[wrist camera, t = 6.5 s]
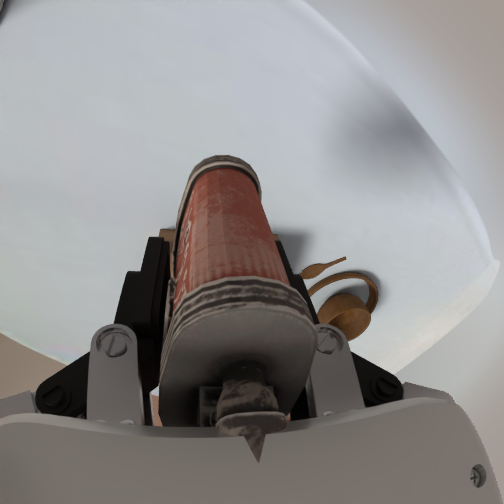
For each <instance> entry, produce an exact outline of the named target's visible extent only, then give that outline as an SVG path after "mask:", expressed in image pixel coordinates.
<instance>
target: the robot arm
mask: <svg viewBox="0 0 504 504" xmlns="http://www.w3.org/2000/svg"><path fill="white" fill-rule="evenodd" d="M3 3H4V0H0V11H1V9H2V6H3ZM274 241H275V243H276V246H277V249H278V252H279V255H280V258H281V261H282V264H283V267H284V269H285V272H286V275H287V278H288V281H289V284H290V287H292V288H294V289H296V290H297V291H298V292H299V293H300V295H301V296H302V297H303V298H304V300H305V301H306V302H307V305H308V308H309V311H310V313H311V316H312V319H313V322H314V324H315V327H316V330H317V338H318V345H317V348H316V352H315V355H314V359H313V362H312V366H311V369H310V372H309V375H308V379H307V382H306V384H305V386H304V388H303V390H302V392H301V394H300V395H299V397H298V399H297V401H296V403H295V404H294V406H293V408H292V410H291V411H290V413H289V414H288V415H287V416H286V418H287V423H288V424H287V428H285V429H283V430H282V431H280V432H275V433H271V434H266V436H265V440H264V445H263V449H262V453H261V458H260V462H259V464H258V462H257V460H256V458H255V456H254V455H253V453H252V451H251V449H250V447H249V445H248V443H247V441H246V439H245V438H244V436H234V435H228V434H226V433H224V432H222V431H220V429H219V428H218V427H160V426H155V424H154V415H153V407H152V396H151V391H152V390H153V389H155V388H156V387H157V386H159V383H160V366H161V354H162V342H163V330H164V319H165V309H166V300H167V291H168V282H169V280H170V279H171V269H170V243H169V241H164V237H149V239H148V243H147V246H146V250H145V254H144V258H143V263H142V267H141V271H128V272H127V274H126V277H125V281H124V284H123V288H122V292H121V296H120V300H119V304H118V308H117V312H116V316H115V320H114V324H110V325H106V326H104V327H102V328H100V329H99V330H98V331H97V332H96V333H95V334H94V336H93V338H92V341H91V348H90V352H88V353H86V354H85V355H83V356H82V357H80V358H79V359H77V360H76V361H74V362H73V363H71V364H69V365H68V366H66V367H65V368H63V369H62V370H60V371H59V372H57V373H56V374H54V375H53V376H51V377H49V378H48V379H46V380H45V381H44V382H43V383H41V384H40V386H39V387H38V389H37V391H36V392H33V393H32V392H31V391H30V390H29V391H26V392H23V393H19V394H16V395H13V396H10V397H7V398H3V399H0V504H503V502H502V498H501V494H500V491H499V488H498V485H497V481H496V478H495V475H494V472H493V469H492V467H491V464H490V461H489V458H488V455H487V453H486V451H485V448H484V446H483V444H482V442H481V439H480V437H479V435H478V433H477V431H476V429H475V427H474V425H473V423H472V422H471V420H470V418H469V417H468V415H467V414H466V413H465V411H464V410H463V409H462V408H461V407H460V406H459V405H457V404H456V403H455V402H454V400H453V398H452V397H451V396H450V395H449V394H448V393H446V392H444V391H440V390H436V389H431V388H427V387H423V386H419V385H416V384H412V383H408V382H405V383H404V384H401V382H400V381H399V380H398V378H397V377H396V376H394V375H393V374H391V373H389V372H387V371H386V370H384V369H382V368H380V367H378V366H376V365H375V364H373V363H371V362H369V361H367V360H366V359H364V358H362V357H360V356H358V355H357V354H355V353H353V352H351V351H350V347H349V344H348V340H347V338H346V336H345V335H344V333H343V332H342V331H341V330H339V329H338V328H336V327H334V326H332V325H329V324H320V322H319V319H318V317H317V314H316V312H315V309H314V306H313V304H312V301H311V299H310V296H309V294H308V291H307V289H306V286H305V284H304V281H303V279H302V277H301V275H299V274H293V272H292V269H291V267H290V264H289V262H288V259H287V256H286V254H285V251H284V249H283V246H282V243H281V241H277V240H274Z"/></svg>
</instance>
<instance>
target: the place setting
mask: <svg viewBox="0 0 504 504" xmlns="http://www.w3.org/2000/svg"><path fill="white" fill-rule="evenodd" d="M344 260H346V257H343V258H340V259H338V260H335V261H333V262H331V263H328V264H314V265H311V266H309V267H307V268H306V269H305V270H304V271H302V273H301V274H300V275H301V277H302V279H311V278H314V277H316V276H318V275H319V274H320V273H322V272H323V271H324V270H325V269H326V268H328V267H330V266H332V265H334V264H337V263H339V262H342V261H344ZM348 278H358V279H363V280H364V281H365V282H366V283H367V284H368V286H369V290H370V295H369V299H368V302H367V304H366V305H365V304H364V302H363V301H362V300H361V299H360V298H359V297H357V296H355V295H352V294H338V295H335V296H332V297H331V298H329V299H328V300H327V301H326V302H325V303H324V304H323V305H322V306H321V308H320V309H319V311H318V314H317V317H318V319H319V322H320V324H329V325H332V326H334V327H336V328H338V329H339V330H341V331H342V332H343V333H344V335H345V336H346V338H347V340H348V341H351V340H353V339H355V338H356V337H358V336H359V335H361V334H362V333H363V332H364V331H365V330H366V329H367V327H368V326H369V324H370V321H371V313H372V312H373V310H374V309H375V307H376V304H377V301H378V290H377V287H376V285H375V284H374V283H373V281H372V280H371V279H369V278H368V277H366V276H364V275H362V274H359V273H340V274H336V275H333V276H330V277H327V278H325V279H323V280H321V281H320V282H318V283H316V284H315V285H314V286H312V287H311V288H310V289H309V290H308V294H309V296H312V295H313V294H314V293H315V292H316V291H318V290H319V289H321V288H322V287H324V286H326V285H328V284H330V283H332V282H335V281H338V280H342V279H348Z"/></svg>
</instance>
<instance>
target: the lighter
mask: <svg viewBox="0 0 504 504" xmlns="http://www.w3.org/2000/svg"><path fill="white" fill-rule="evenodd" d="M172 274H173V277H172V278H171V279H170V280H169V282H168V291H167V300H166V309H165V319H164V330H163V342H162V354H161V366H160V383H159V410H158V411H159V412H158V414H159V416H160V419H161V422H162V425H163V427H218V428H219V429H220V431H222V432H224V433H226V434H228V435H234V436H244V438H245V439H246V441H247V443H248V445H249V447H250V449H251V451H252V453H253V455H254V456H255V458H256V460H257V462H258V464H259V462H260V458H261V453H262V449H263V445H264V440H265V436H266V434H271V433H275V432H280V431H282V430H283V429H285V428H287V424H288V423H287V418H286V416H287V415H288V414H289V413H290V411H291V410H292V408H293V406H294V404H295V403H296V401H297V399H298V397H299V395H300V394H301V392H302V390H303V388H304V386H305V384H306V382H307V379H308V375H309V372H310V369H311V366H312V362H313V359H314V355H315V352H316V348H317V345H318V338H317V330H316V327H315V324H314V322H313V319H312V316H311V313H310V311H309V308H308V305H307V302H306V301H305V300H304V298H303V297H302V296H301V295H300V293H299V292H298V291H297V290H296V289H294V288H292V287H290V284H289V281H288V278H287V275H286V272H285V269H284V267H283V264H282V261H281V258H280V255H279V252H278V249H277V246H276V243H275V241H274V238H273V235H272V232H271V229H270V226H269V224H268V221H267V218H266V215H265V212H264V210H263V207H262V204H261V187H260V182H259V180H258V177H257V175H256V173H255V171H254V170H253V169H252V167H251V166H250V165H249V164H248V163H246V162H245V161H243V160H242V159H240V158H237V157H234V156H230V155H215V156H212V157H209V158H206V159H204V160H202V161H201V162H200V163H198V164H197V165H196V166H195V167H194V169H193V170H192V172H191V174H190V176H189V179H188V182H187V185H186V188H185V191H184V194H183V197H182V200H181V204H180V207H179V211H178V217H177V223H176V229H175V236H174V243H173V250H172Z"/></svg>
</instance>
